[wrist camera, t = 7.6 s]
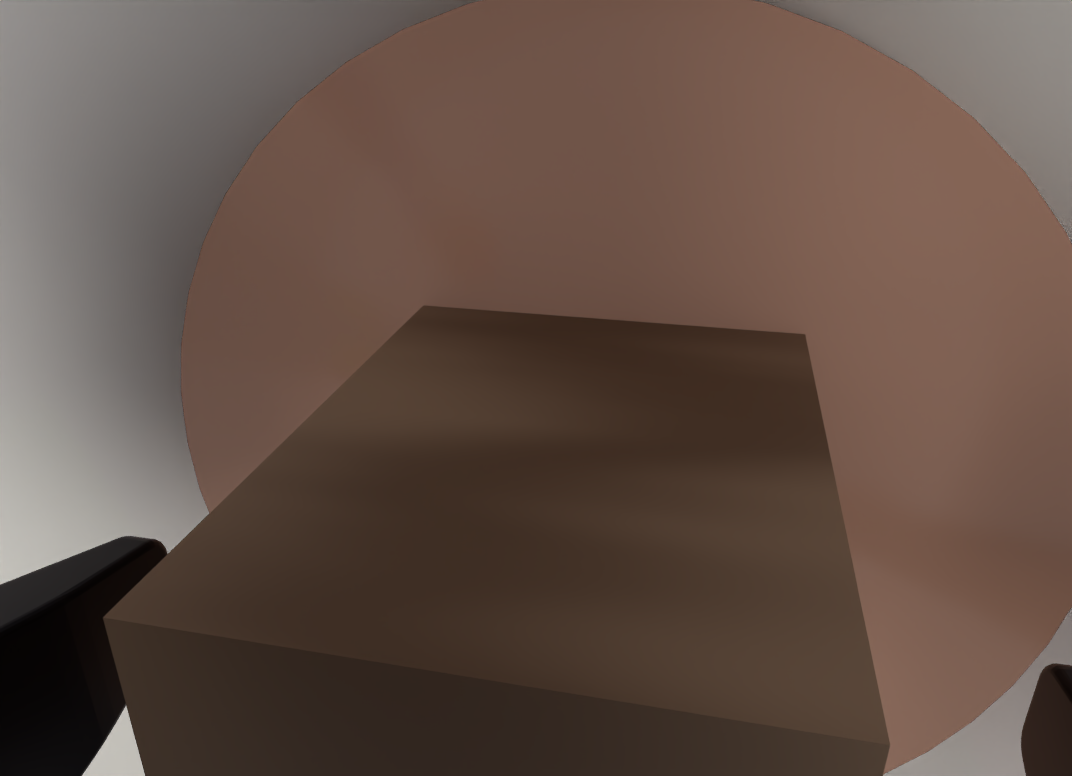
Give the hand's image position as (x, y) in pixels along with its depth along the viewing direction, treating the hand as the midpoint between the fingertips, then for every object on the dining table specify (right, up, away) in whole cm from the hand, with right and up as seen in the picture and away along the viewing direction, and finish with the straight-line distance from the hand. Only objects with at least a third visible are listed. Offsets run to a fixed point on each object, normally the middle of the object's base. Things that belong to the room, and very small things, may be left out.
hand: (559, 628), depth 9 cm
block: (+1, +1, +2) cm, 3 cm away
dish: (+1, +2, +4) cm, 4 cm away
